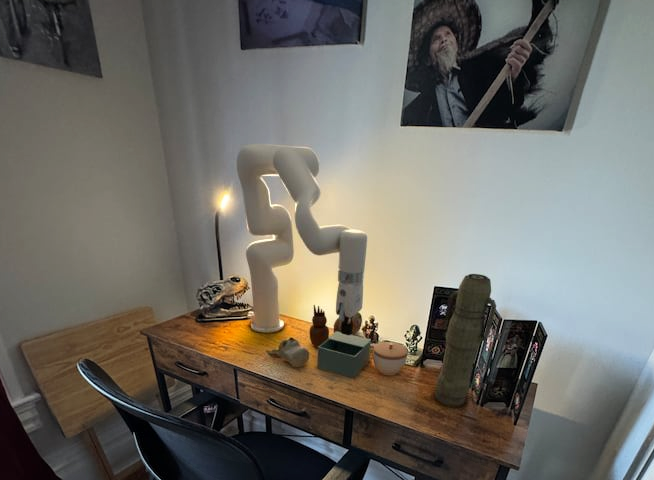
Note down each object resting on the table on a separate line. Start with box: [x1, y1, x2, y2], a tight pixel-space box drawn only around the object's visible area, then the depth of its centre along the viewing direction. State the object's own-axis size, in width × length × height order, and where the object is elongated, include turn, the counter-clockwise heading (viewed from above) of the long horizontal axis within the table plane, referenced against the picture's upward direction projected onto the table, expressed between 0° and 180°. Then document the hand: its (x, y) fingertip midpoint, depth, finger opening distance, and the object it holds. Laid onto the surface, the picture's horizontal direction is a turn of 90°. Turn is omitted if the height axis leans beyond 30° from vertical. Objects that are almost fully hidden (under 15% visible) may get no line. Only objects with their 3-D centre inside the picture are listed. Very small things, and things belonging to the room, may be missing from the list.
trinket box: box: [372, 341, 409, 376], centre depth 119 cm, size 11×11×9 cm
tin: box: [333, 311, 363, 336], centre depth 141 cm, size 15×3×8 cm, turn 143°
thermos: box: [434, 273, 497, 407], centre depth 100 cm, size 9×12×35 cm
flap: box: [328, 331, 372, 348], centre depth 122 cm, size 12×6×1 cm, turn 64°
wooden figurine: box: [309, 304, 330, 348], centre depth 131 cm, size 7×6×15 cm
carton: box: [317, 339, 372, 379], centre depth 121 cm, size 13×13×7 cm
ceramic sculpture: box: [265, 336, 310, 368], centre depth 121 cm, size 11×9×15 cm
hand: (346, 333), depth 120 cm, fingers closed
